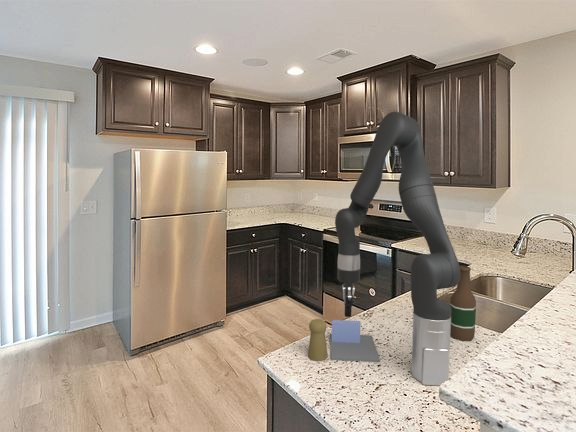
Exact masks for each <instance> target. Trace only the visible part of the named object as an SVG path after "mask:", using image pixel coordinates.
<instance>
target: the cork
mask: <svg viewBox="0 0 576 432" xmlns="http://www.w3.org/2000/svg"><path fill="white" fill-rule="evenodd" d="M308 325H309V326H308V329H309V331H310V336H309V337H310V338H309V344H308V349H307V351H308V352H307V358H308V359H309V360H311V361H313V362H323V361H326V360H327V359H328V357H329V355H328V347H327V339H326V331H327V329H328V326H327V322H326V321H325V320H323V319H320V318H315V319H312V320H310V322H309V324H308Z"/></svg>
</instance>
